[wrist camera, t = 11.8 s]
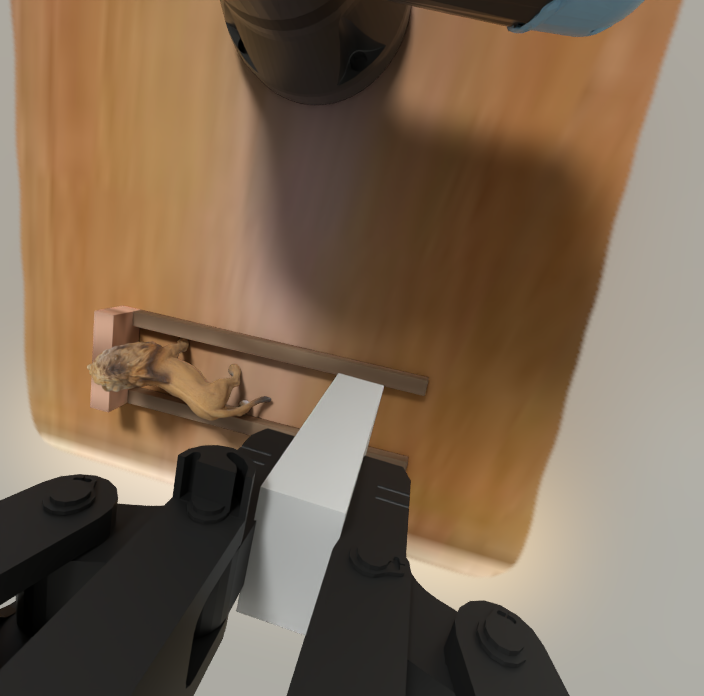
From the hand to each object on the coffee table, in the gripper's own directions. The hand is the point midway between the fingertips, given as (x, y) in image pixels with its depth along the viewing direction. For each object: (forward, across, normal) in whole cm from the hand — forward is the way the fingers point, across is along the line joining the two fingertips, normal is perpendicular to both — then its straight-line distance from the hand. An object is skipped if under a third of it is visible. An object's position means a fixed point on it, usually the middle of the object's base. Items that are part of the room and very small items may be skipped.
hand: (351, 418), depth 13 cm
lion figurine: (+27, -18, -12) cm, 34 cm away
